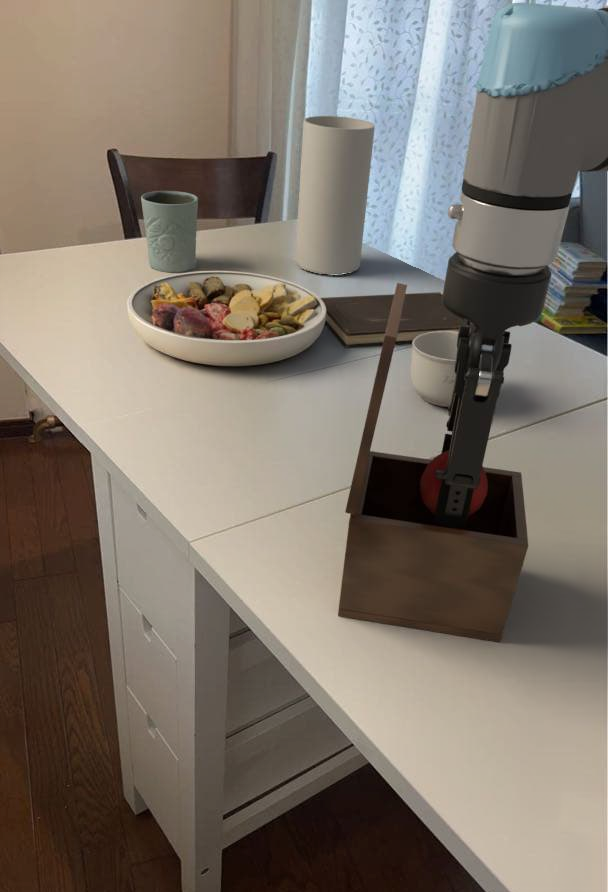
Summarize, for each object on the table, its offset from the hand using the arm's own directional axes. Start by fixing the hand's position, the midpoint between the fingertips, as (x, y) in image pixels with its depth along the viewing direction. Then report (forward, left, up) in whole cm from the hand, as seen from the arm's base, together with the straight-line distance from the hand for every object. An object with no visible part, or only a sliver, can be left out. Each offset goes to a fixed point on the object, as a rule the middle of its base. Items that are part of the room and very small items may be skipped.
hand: (446, 518), depth 72 cm
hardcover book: (+9, -68, -9) cm, 69 cm away
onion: (0, 0, 0) cm, 0 cm away
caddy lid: (+7, 0, +11) cm, 13 cm away
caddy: (+1, 0, -8) cm, 9 cm away
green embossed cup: (+52, -84, -9) cm, 99 cm away
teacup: (-1, -44, -9) cm, 45 cm away
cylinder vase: (+24, -94, -9) cm, 97 cm away
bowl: (+34, -55, -9) cm, 65 cm away
